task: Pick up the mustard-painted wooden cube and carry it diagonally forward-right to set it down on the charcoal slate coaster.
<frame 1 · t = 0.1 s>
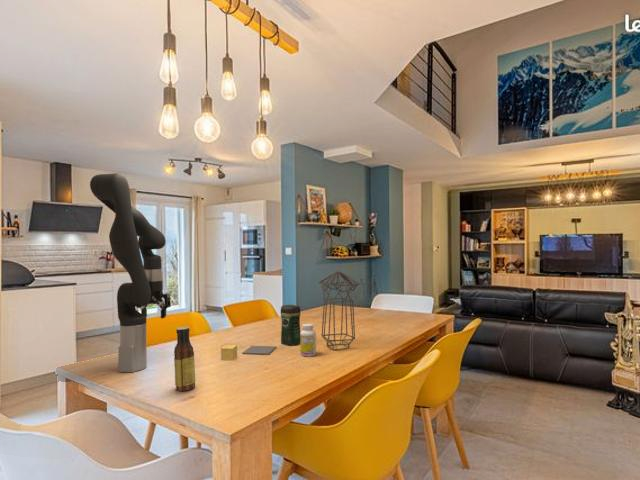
hand: (153, 317, 158), 17 cm above the table, tool pointing down, fingers open, 8 cm apart
supplement bottle: (308, 355, 160), on the table
coffee jar: (291, 344, 179), on the table
geometric lantern: (339, 347, 172), on the table
coaster: (259, 350, 167), on the table
sauce bottle: (184, 389, 123), on the table
cube: (229, 358, 156), on the table
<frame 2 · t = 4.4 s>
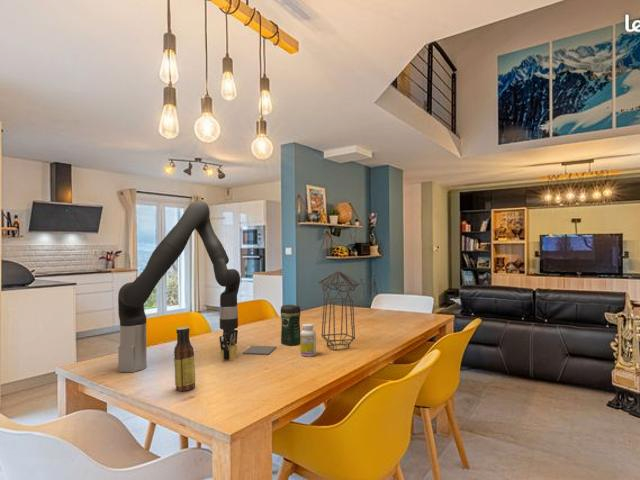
hand: (229, 357, 156), 0 cm above the table, tool pointing down, fingers closed on cube, 5 cm apart
cube: (229, 358, 156), on the table, touching gripper
everything else where it was.
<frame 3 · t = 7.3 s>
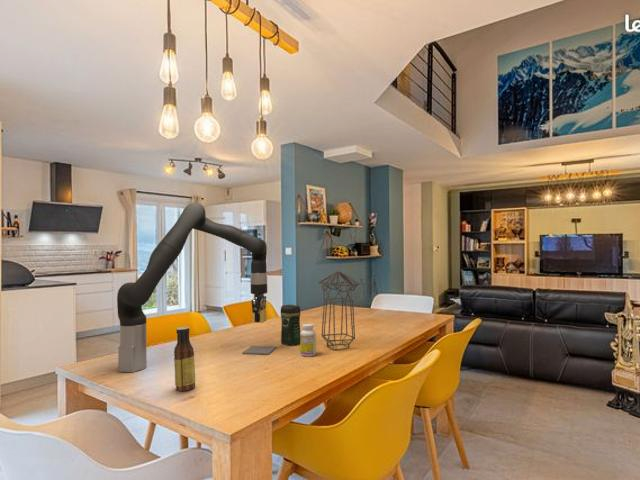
hand: (259, 320, 168), 13 cm above the table, tool pointing down, fingers closed on cube, 5 cm apart
cube: (259, 321, 168), point 13 cm above the table, touching gripper
everything else where it was.
when the fingers open (2 cm above the table, at t = 10.1 s): cube stays where it is, resting on coaster.
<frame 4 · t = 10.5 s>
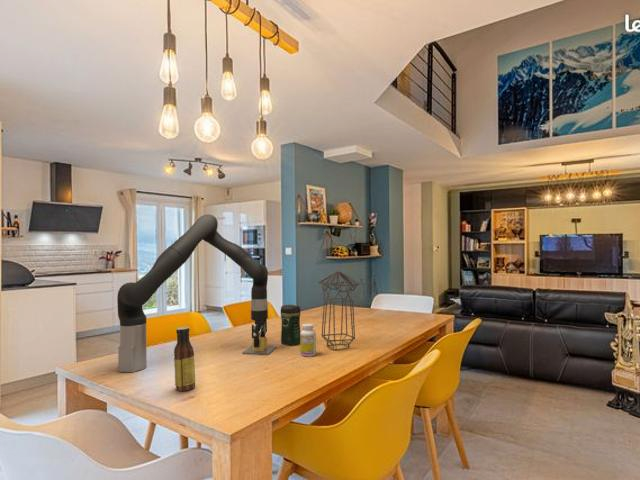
hand: (259, 344, 167), 3 cm above the table, tool pointing down, fingers open, 8 cm apart
cube: (259, 349, 167), point 1 cm above the table, touching coaster
everything else where it was.
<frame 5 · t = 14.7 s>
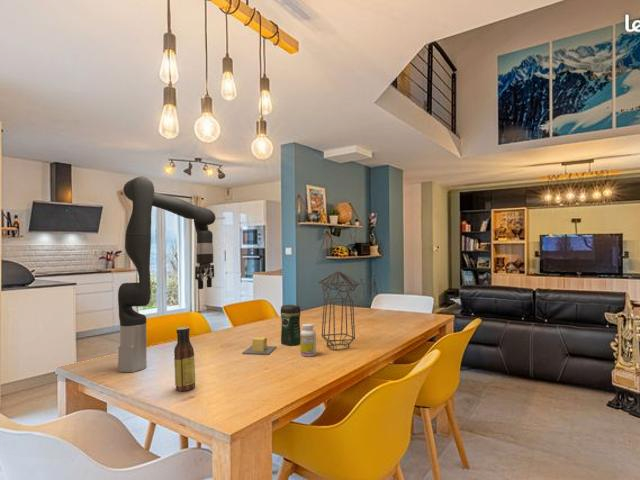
hand: (205, 288, 172), 28 cm above the table, tool pointing down, fingers open, 8 cm apart
nothing on the table moved.
at the end: cube inside the target area on the coaster (0.0 cm from its centre), point 0.6 cm above the coaster's base; cube tilted 0°; the gripper is holding nothing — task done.
